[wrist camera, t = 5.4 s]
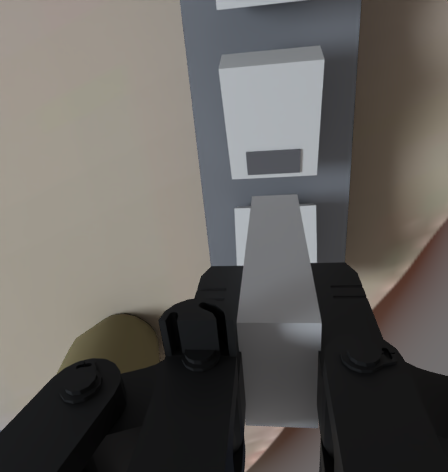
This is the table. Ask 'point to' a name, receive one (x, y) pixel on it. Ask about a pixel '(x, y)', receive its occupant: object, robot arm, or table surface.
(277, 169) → the block
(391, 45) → the table surface
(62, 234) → the table surface
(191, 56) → the switch strip
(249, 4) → the plate
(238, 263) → the plate
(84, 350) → the squeeze bottle
